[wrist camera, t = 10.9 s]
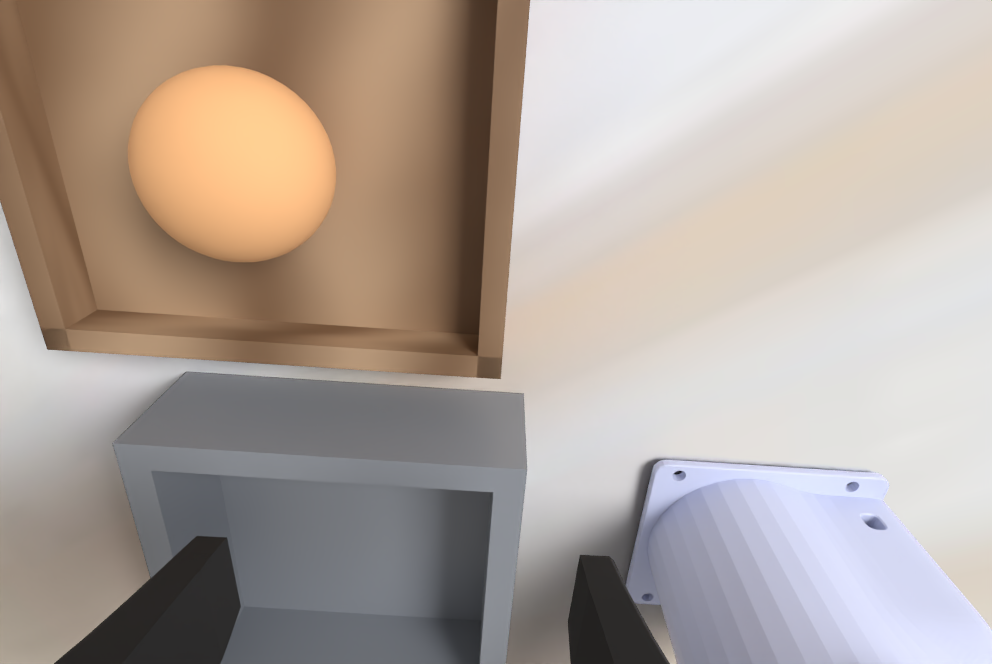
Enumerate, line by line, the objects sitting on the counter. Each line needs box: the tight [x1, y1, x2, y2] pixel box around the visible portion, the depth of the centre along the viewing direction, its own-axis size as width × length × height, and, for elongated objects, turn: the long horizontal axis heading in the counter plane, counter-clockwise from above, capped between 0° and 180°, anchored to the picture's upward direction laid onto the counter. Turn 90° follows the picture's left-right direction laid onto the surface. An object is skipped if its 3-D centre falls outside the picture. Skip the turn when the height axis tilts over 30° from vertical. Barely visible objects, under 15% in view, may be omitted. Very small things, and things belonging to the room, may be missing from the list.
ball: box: [128, 65, 336, 262], centre depth 15 cm, size 5×5×5 cm
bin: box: [112, 372, 527, 664], centre depth 23 cm, size 13×13×4 cm
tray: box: [0, 0, 530, 379], centre depth 17 cm, size 15×13×2 cm
